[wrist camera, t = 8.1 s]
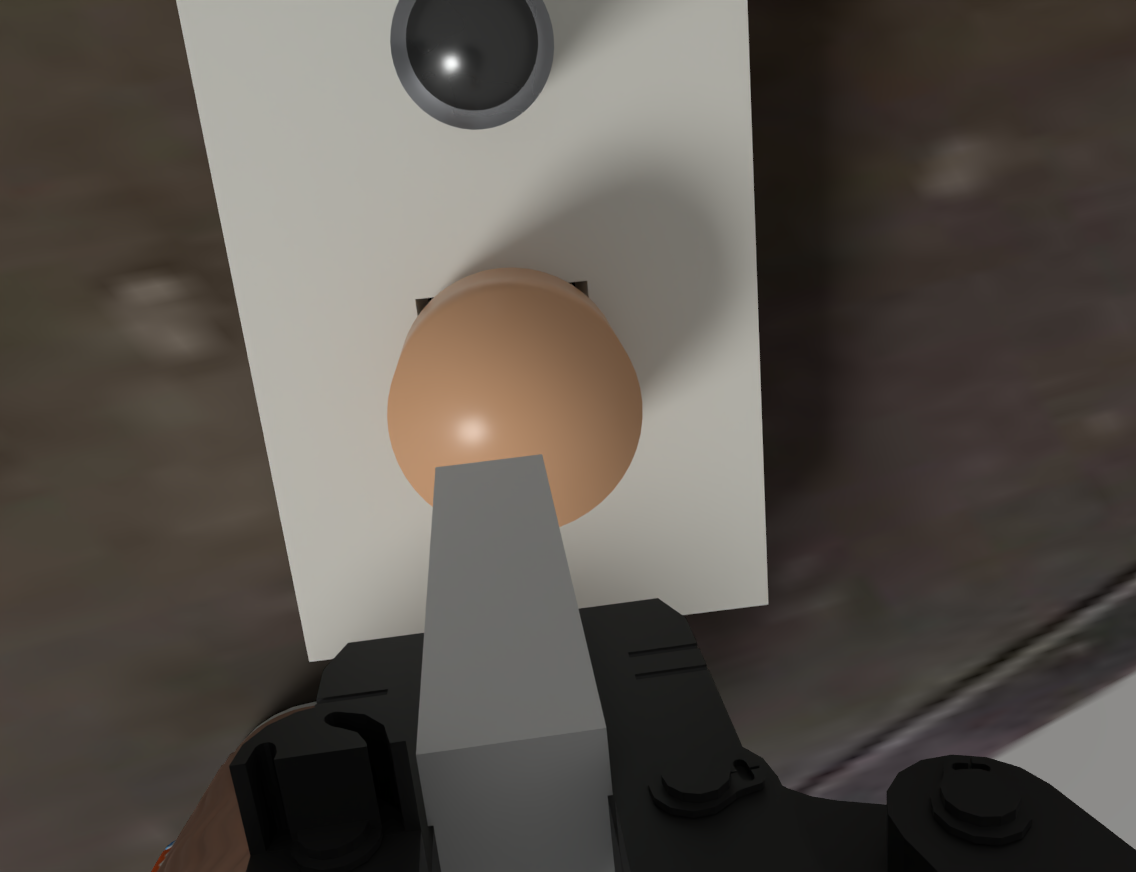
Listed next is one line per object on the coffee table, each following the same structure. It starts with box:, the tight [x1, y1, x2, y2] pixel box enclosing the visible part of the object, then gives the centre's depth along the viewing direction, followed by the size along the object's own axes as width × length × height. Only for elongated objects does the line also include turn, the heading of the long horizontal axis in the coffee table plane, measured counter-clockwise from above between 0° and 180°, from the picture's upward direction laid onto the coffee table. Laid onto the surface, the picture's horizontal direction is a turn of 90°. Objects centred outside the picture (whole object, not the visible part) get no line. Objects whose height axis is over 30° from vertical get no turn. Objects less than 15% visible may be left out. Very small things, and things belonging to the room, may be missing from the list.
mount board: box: [176, 0, 768, 662], centre depth 24 cm, size 12×28×4 cm, turn 5°
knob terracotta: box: [387, 268, 643, 527], centre depth 24 cm, size 5×5×7 cm
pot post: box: [390, 0, 554, 130], centre depth 19 cm, size 3×3×7 cm
